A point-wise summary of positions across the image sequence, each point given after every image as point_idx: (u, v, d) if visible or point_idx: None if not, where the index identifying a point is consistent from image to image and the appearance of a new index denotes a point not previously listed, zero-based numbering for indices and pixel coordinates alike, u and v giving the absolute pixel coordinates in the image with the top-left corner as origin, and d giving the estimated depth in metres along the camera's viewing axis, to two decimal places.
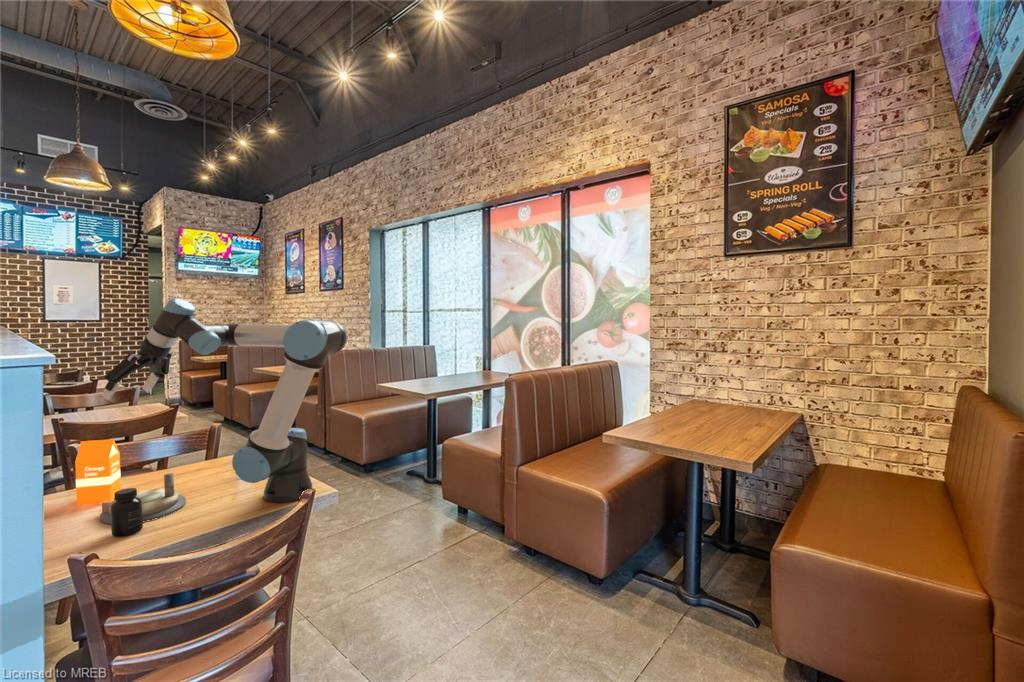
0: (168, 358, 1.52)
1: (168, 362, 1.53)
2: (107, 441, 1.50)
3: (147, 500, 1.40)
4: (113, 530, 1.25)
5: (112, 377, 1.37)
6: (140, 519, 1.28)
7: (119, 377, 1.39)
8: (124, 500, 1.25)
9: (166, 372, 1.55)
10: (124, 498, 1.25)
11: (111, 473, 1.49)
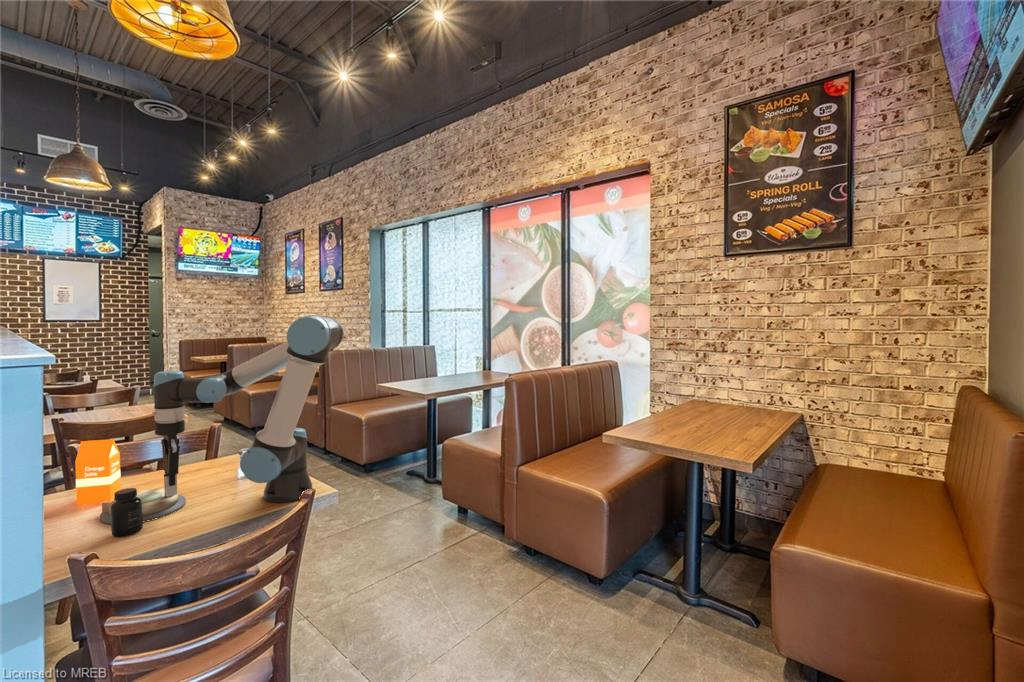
0: None
1: None
2: (107, 441, 1.50)
3: (147, 500, 1.40)
4: (113, 530, 1.25)
5: (176, 470, 1.39)
6: (140, 519, 1.28)
7: None
8: (124, 500, 1.25)
9: None
10: (124, 498, 1.25)
11: (111, 473, 1.49)
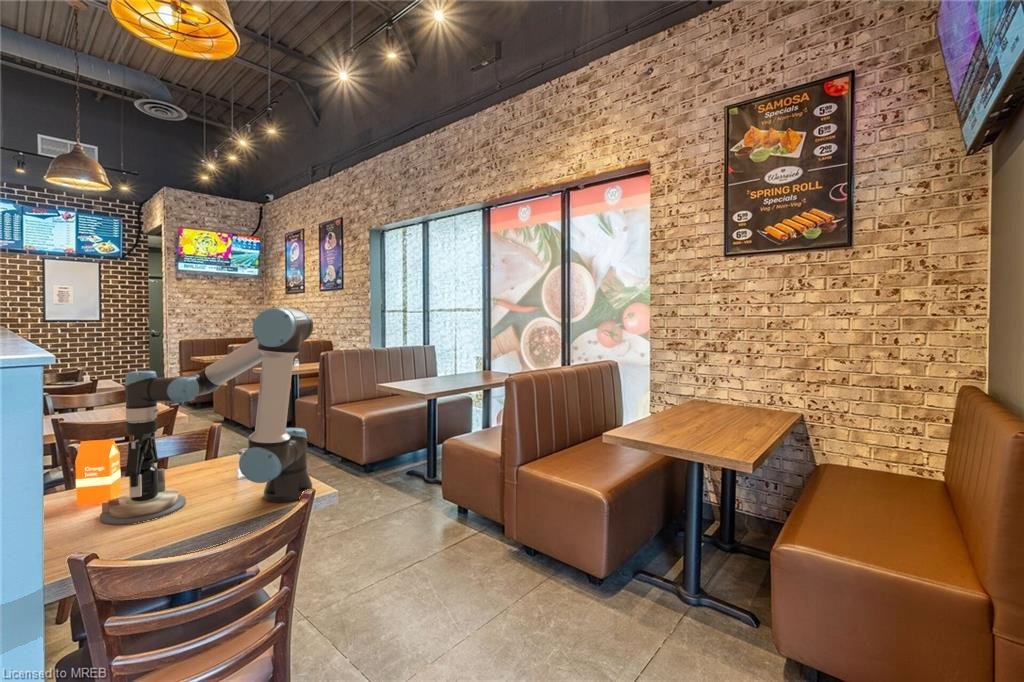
0: None
1: None
2: (107, 441, 1.50)
3: (158, 495, 1.44)
4: (151, 492, 1.41)
5: None
6: None
7: None
8: (153, 464, 1.43)
9: None
10: (153, 463, 1.43)
11: (111, 473, 1.49)
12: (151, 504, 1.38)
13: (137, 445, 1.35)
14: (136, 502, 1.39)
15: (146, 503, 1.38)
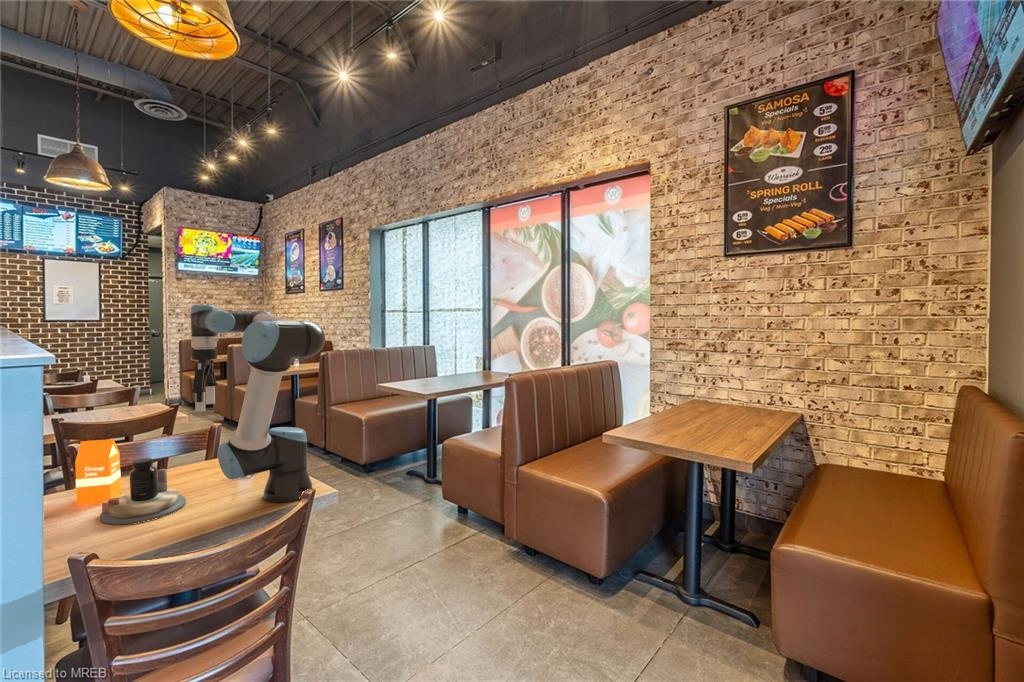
0: None
1: None
2: (107, 441, 1.50)
3: (157, 496, 1.44)
4: (149, 493, 1.40)
5: None
6: None
7: None
8: (152, 464, 1.42)
9: None
10: (152, 463, 1.42)
11: (111, 473, 1.49)
12: (148, 505, 1.37)
13: (202, 366, 1.55)
14: (135, 502, 1.38)
15: (144, 503, 1.38)
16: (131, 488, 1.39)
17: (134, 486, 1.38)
